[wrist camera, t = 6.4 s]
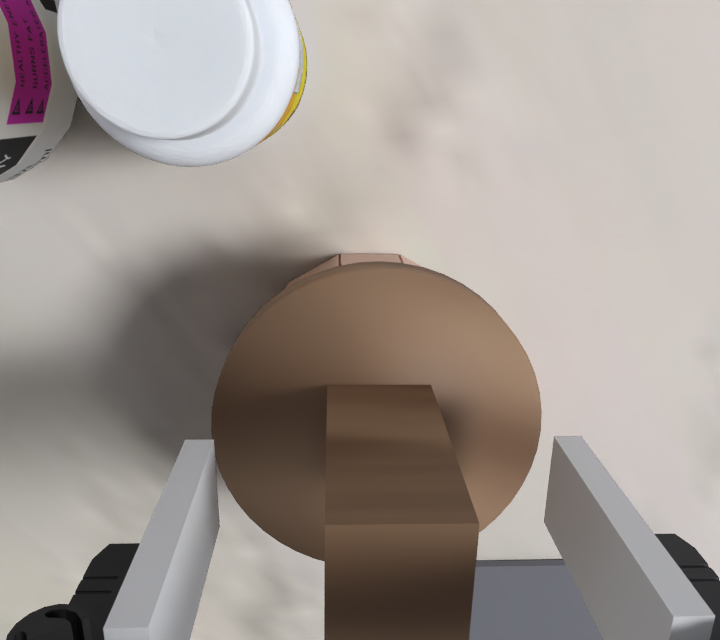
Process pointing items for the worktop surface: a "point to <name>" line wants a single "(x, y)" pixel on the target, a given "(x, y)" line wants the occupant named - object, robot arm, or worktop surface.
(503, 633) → the mat
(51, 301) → the worktop surface
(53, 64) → the supplement can
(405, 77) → the worktop surface
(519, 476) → the lid
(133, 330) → the worktop surface
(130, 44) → the supplement bottle
